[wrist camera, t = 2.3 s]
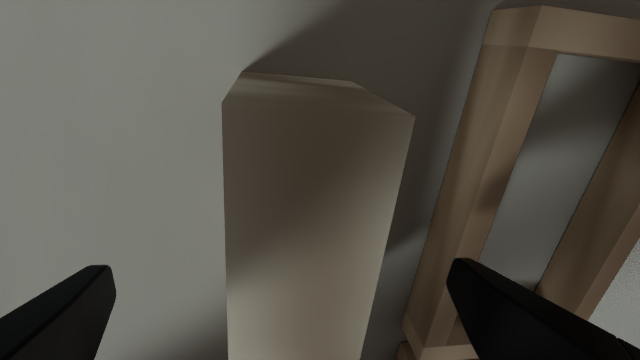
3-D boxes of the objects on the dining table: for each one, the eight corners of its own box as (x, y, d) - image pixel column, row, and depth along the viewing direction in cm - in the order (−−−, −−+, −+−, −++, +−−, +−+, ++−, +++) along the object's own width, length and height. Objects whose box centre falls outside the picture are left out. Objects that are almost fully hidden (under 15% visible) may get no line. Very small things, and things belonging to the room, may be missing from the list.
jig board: (371, 427, 19) (382, 467, 17) (492, 10, 10) (541, 5, 8) (486, 413, 21) (507, 448, 19) (685, 37, 11) (764, 38, 10)
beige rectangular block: (242, 291, 13) (229, 421, 9) (242, 70, 10) (221, 102, 5) (322, 288, 14) (348, 408, 10) (351, 80, 10) (415, 117, 6)
